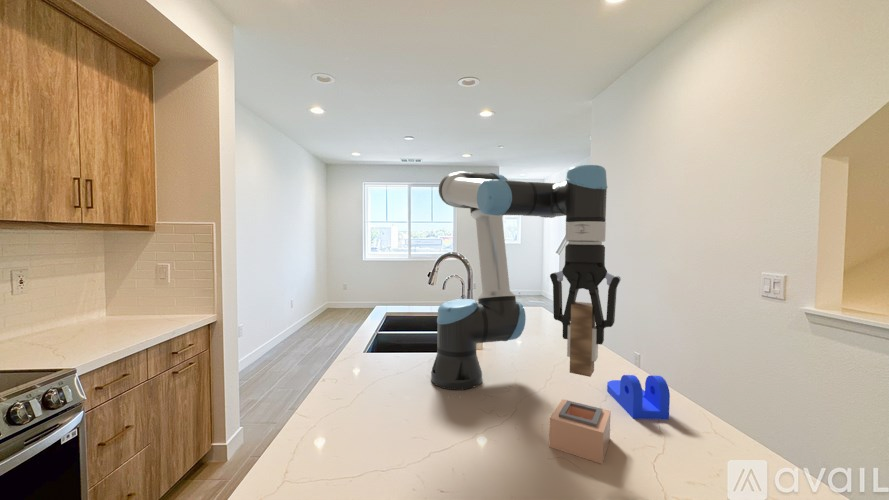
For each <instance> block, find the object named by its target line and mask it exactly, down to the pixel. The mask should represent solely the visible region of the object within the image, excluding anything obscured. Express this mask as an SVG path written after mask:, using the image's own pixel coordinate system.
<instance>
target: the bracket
mask: <svg viewBox="0 0 889 500" xmlns="http://www.w3.org/2000/svg"><path fill="white" fill-rule="evenodd" d="M644 384H645V385H644V389H643V388H642V384H641V381H640V380H639V378H638V377H637V376H636V375H635V374H623V375H622V376H621V378H620V379H617V380H616V379H613V380H609V381H607V385H606V392H607V393H608V394H609V395H610V396H611V397H612V398H613V400H614V401H616V403H617V404H619V406H620V407H621V408H622V409H623V410H624V411H625V412H626V413H627V414H628V415H629V416H630V417H631V418H632V419H634V420H635V419H637V420H638V419H639V420H640V419H641V420H670V402H671V401H670V399H671V395H670V389H669V385H668V383H667V381H666V379H665V378H664V377H663V376H661V375H651V374H650V375H647V377H646V379H645V383H644Z"/></svg>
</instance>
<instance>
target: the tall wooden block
mask: <svg viewBox="0 0 889 500" xmlns="http://www.w3.org/2000/svg"><path fill="white" fill-rule="evenodd" d="M570 323H571V330H570V357H569V373H570V374H575V375H579V376H584V377H590V378H591V377H592V375H593V373H594V372H595V361H592V328H593V327H594V326H596V323H595V317H594V312H593V306H592V302H584V301H575V303H573V304H571V321H570Z"/></svg>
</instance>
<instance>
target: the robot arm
mask: <svg viewBox="0 0 889 500" xmlns="http://www.w3.org/2000/svg"><path fill="white" fill-rule="evenodd" d="M607 190H608V184H607V170H606V168H605V167H603V166H601V165H596V164H584V165H583V164H582V165H576V166H575V165H574V166H571V167H570V168H569V169H567V172H566V177H565V180H564V181H560V182H554V183H553V182H541V181H540V182H539V181H537V182H536V181H518V180H508V178H507V177H506V176H504V175H502V174H497V173H493V172H489V173H486V172H472V171H471V172H470V171H456V172H455V171H454V172H451V173H449V174H447V175H445V176H444V177H443V178H442V179H441V181H440V182H439V186H438V196H439V197H440V199H441V201H442V202H443V203H445V204H446V205H448V206H451V207H454V208H460V209H470V216H471V217H472V218H474V220H475V225H476V238H477V247H478V256H479V257H478V259H479V269H480V270H479V271H480V279H481V280H480V281H481V294H480V295H479V296H478V298H477V300H478V303H477V301H476V300H475V299H473V298H458V299H452V300H449V301H445V302H443V303H442V304H440V305H439V307H438V308H437V318H436V323H437V329H436V330H437V334H436V335H437V336H436V337H437V338H436V339H437V340H436V341H437V342H436V343H437V347H436V349H437V351H436V356H435V359H434V362H433V365H432V369H431V373H430V374H431V375H430V377H431V378H430V380H431V382H432V383H433V384H434V386H435V385H436V386H437V387H439V388H443V389H447V390H453V391H454V390H455V391H456V390H457V391H459V390H461V391H462V390H468V389H472V388H475V387H478V386H479V385H481V383H482V381H483V372H482V368H481V365H480V361H479V358H478V355H477V344H483V343H485V344H486V343H493V342H495V343H497V342H508V341H512V340H517V339H518V338H520V337H521V335H522V334H523V332H524V329H525V326H526V320H527V319H526V310H525V308H524V306H523V304H522V303H521V302H520V301H518V300H517V299H516V295H515V294H514V293H513V292H512V291H511V289H510V288H511V287H510V281H509V280H510V279H509V269H508V260H507V259H508V258H507V249H506V240H505V231H504V221H503V217H504V216H525V217H526V216H527V217H539V218H550V219H552V218H556V217H562V216H563V217H564V216H565V241H566V242H568V244H566V245H565V249H564V251H565V252H564V265H563V268H562V270H560V271H557V272H556V271H555V272H552V273H551V274H549V278H550V280H551V284H552V298H553V303H552V304H553V306H552V307H553V319H554V320H555V321H558V322H561V324H562V338H563V340H566V342H567V343H566V344H567V347H566V350H567V351H566V357H568V358H570V330H571V304H573V303H575V302H577V301H576V300H577V297H578V296H577V295H578V294H579V293H578V292H579V290H582V289H583V290H587V291H588V292H589V293H588V294H589V295H590V301H591V302H590V303H592V306H593V312H594V317H595V326H594V327H593V328H592V361H594V362H596V361H597V360H598V358H599V346H600V345H603V344H604V341H605V329H606V328H612V327H613V326H614V324H615V320H616V319H615V317H616V307H617V306H616V304H617V290H618V286H619V284H620V282H621V280H622V279H621V278H622V277H620V276H619V275H616V276H615V275H614V274H611V273H609V272H608V270H607V268H606V265H605V264H606V263H605V260H606V259H605V258H606V246H605V245H604V244H603V243H604V242H605V241H606V226H607V225H606V224H607V223H606V220H607V215H606V214H607V193H608V191H607ZM564 277H565V279H566V280H567V282H568V284H570V285H569V290H568V296H567V299H566V304H565V309H564V313H563V285H562V281H564ZM604 279H605V280H606V284H607V286H608V290H607V302H606V303H607V304H606V317H605V318H606V319H605V318H604V314H603V309H602V303H601V297H600V293H599V292H600V291H599V285H600V284H601V283H602V282H603V280H604Z"/></svg>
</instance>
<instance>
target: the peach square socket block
mask: <svg viewBox="0 0 889 500" xmlns="http://www.w3.org/2000/svg"><path fill="white" fill-rule="evenodd" d="M611 415H612V414H611V410H609V409H606V408H605V409H604V408H602V407H597V406H593V405H589V404H583V403H580V402H576V401H572V400H567V399H564V398H562V399H561V400H560V402H559V404H558V405H557V406H556V407H555V409H554V411H553V413H552V414H551V415H550V417H549V439H548V440H549V441H548V445H549V448H552V449H556V450H558V451H562V452H565V453H568V454H570V455H574V456H576V457H580V458H583V459H587V460H590V461H592V462H595V463H598V464H601V465H603V463H604V460H605V457H606V453H607V450H608V446H609V443H610V439H611V417H612V416H611Z"/></svg>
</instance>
